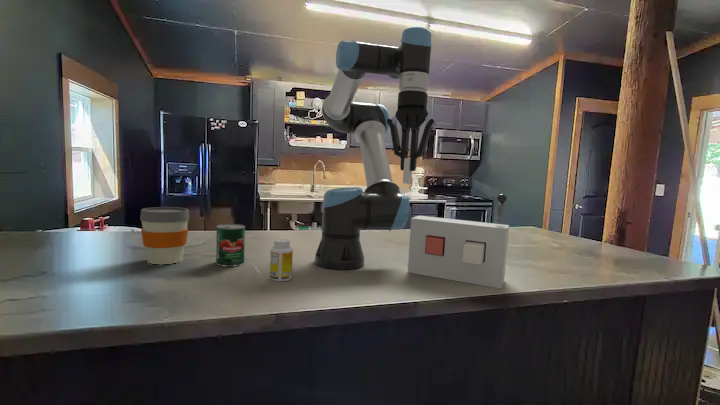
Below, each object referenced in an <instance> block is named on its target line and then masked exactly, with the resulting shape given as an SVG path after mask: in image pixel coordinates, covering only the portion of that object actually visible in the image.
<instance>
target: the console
mask: <svg viewBox="0 0 720 405" xmlns="http://www.w3.org/2000/svg"><path fill="white" fill-rule="evenodd" d="M409 229H410V232H409V233H410V234H409V243H408V244H409V246H408V260H407V261H408V262H407V273H410V274H416V275H422V276H426V277H427V276H428V277H433V278H439V279H445V280H450V281H455V282H456V281H457V282H463V283H466V284H467V283H468V284H473V285H479V286H486V287H491V288H496V289H502V288H503V285H504V283H505V276H506V275H505V274H506V266H507V265H506V264H507V254H508V253H507V252H508V240H509V233H510V232H509V231H510V224H502V223H500V224H498V223H493V222H483V221H482V222H481V221H475V220H474V221H473V220H464V219H457V218H456V219H454V218H448V217H447V218H446V217H437V216H427V215H417V216H412V217H411V218H410V228H409ZM430 235H431V236H438V237H445V248H444V254H443V255H436V254H429V253H426V241H427V237H428V236H430ZM467 241H471V242H479V243H485V251H484V260H483V262H482V263H481V265H479V264H473V263H466V262H462V261H463V249H464V244H465V243H466V242H467Z"/></svg>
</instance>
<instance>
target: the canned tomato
mask: <svg viewBox="0 0 720 405" xmlns="http://www.w3.org/2000/svg"><path fill="white" fill-rule="evenodd" d="M245 239H246V225H243V224H240V223H239V224H238V223H223V224H218V225H216V243H215V244H216V252H215V254H216V255H215V256H216V258H215V264H216V265H217V264H219V265H225V266H234V265H240V264H243V263H244V264H245V250H246V249H245V242H246V240H245ZM244 264H243V265H244ZM219 265H218V266H219ZM240 266H241V265H240ZM234 267H235V266H234Z"/></svg>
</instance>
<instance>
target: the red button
mask: <svg viewBox="0 0 720 405" xmlns="http://www.w3.org/2000/svg"><path fill="white" fill-rule="evenodd" d="M444 248H445V237H438V236H431V235H430V236H428V237H427V241H426V253H429V254H436V255H443V254H444Z"/></svg>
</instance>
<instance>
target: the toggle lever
mask: <svg viewBox="0 0 720 405" xmlns="http://www.w3.org/2000/svg"><path fill="white" fill-rule="evenodd" d="M496 200H497V211H496V216H495V222H496V224H502V223H503V216H504V209H505V203H506V202H507V201H508V198H507V195H505V194H504V193H501V194H498V195H497V197H496Z"/></svg>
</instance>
